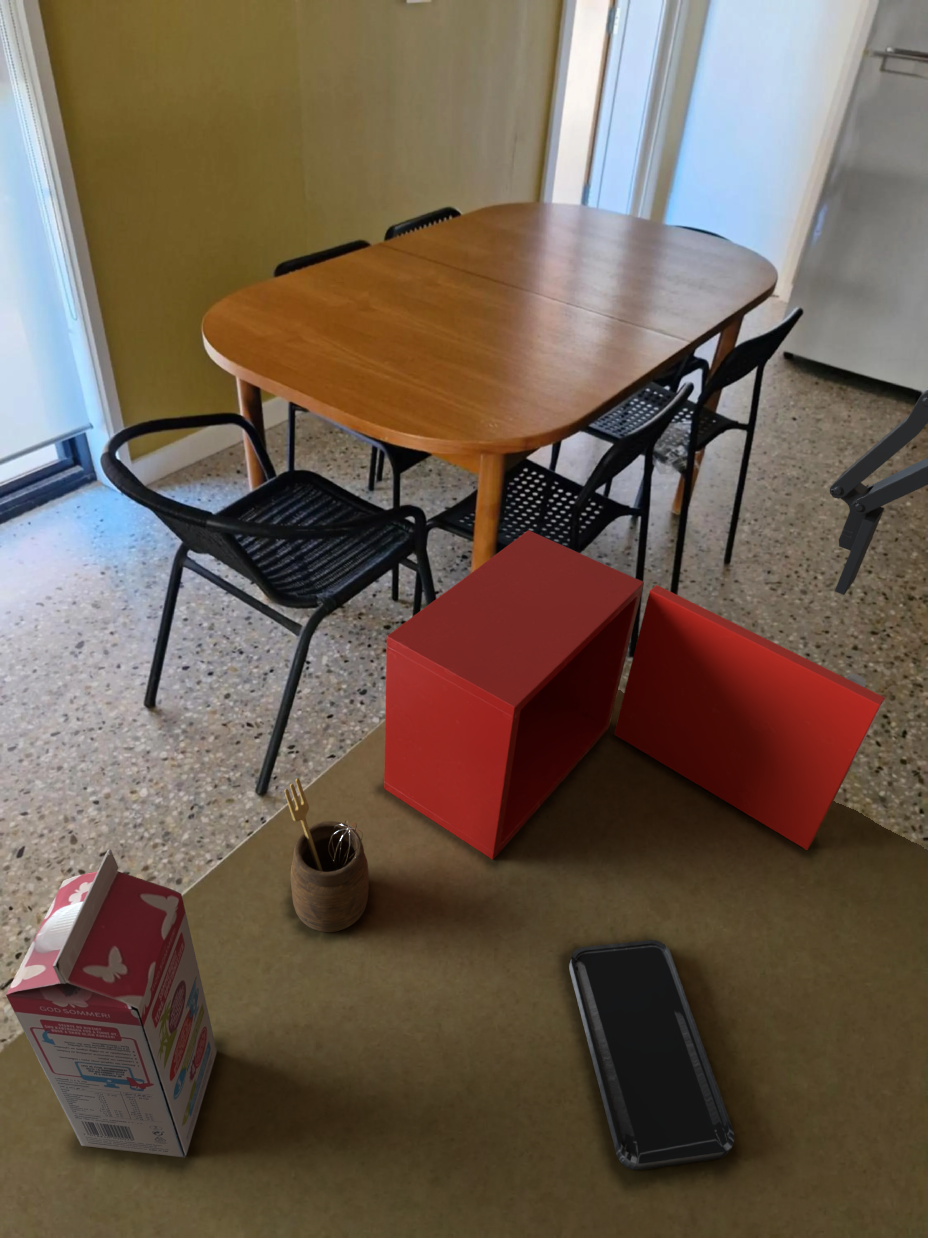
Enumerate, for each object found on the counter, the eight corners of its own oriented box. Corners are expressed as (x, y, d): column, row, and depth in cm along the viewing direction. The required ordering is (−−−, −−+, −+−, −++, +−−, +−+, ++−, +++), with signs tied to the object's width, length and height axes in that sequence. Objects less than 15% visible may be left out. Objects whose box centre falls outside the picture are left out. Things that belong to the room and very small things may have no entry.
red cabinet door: (652, 696, 91) (691, 554, 80) (839, 801, 82) (913, 657, 71) (613, 734, 87) (649, 590, 76) (806, 850, 77) (880, 705, 66)
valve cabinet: (609, 728, 87) (644, 581, 76) (492, 860, 74) (514, 707, 63) (508, 674, 93) (528, 529, 81) (383, 789, 80) (386, 636, 68)
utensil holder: (338, 949, 67) (334, 853, 60) (274, 908, 70) (262, 810, 62) (383, 893, 71) (385, 796, 64) (322, 856, 74) (316, 758, 66)
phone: (624, 1166, 56) (568, 948, 67) (620, 1173, 57) (565, 956, 68) (741, 1149, 57) (667, 938, 68) (737, 1156, 58) (663, 946, 69)
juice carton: (81, 1145, 56) (-13, 958, 42) (121, 1040, 61) (49, 843, 47) (185, 1157, 56) (125, 973, 42) (217, 1051, 61) (172, 856, 47)
